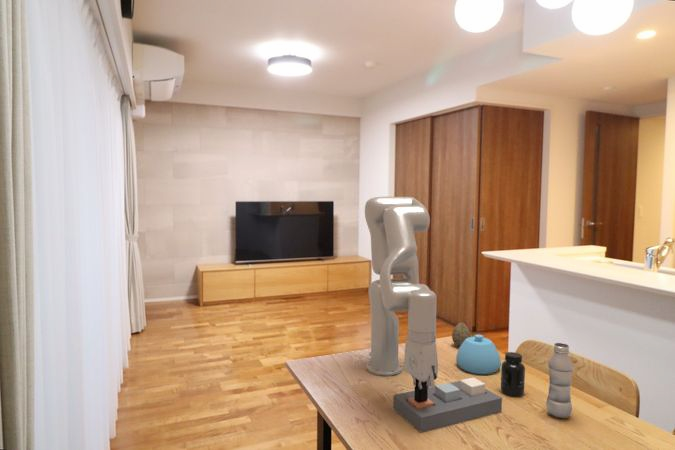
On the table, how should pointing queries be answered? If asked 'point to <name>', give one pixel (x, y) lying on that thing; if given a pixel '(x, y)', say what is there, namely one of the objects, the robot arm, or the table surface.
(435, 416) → the button panel
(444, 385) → the light gray button
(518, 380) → the supplement bottle
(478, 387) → the cream button
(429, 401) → the terracotta button
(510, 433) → the table surface
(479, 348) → the sugar bowl
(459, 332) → the decorative egg
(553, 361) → the plastic bottle
